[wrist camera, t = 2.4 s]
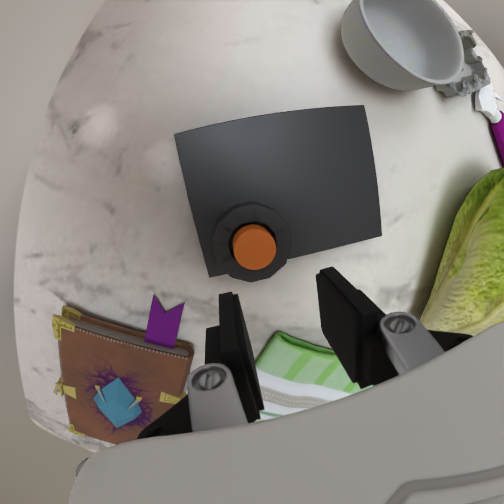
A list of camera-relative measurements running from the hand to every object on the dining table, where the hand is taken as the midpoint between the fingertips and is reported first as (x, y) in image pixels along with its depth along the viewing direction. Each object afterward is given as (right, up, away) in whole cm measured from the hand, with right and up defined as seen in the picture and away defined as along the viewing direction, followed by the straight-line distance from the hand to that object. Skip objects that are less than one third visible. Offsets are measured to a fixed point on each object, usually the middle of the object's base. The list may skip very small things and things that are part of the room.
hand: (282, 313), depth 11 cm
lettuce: (+25, +3, +17) cm, 31 cm away
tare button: (-1, +3, +10) cm, 11 cm away
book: (-17, -12, +17) cm, 27 cm away
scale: (+2, +8, +13) cm, 15 cm away
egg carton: (+22, +25, +10) cm, 35 cm away
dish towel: (+3, -18, +21) cm, 28 cm away
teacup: (+11, +24, +9) cm, 28 cm away
